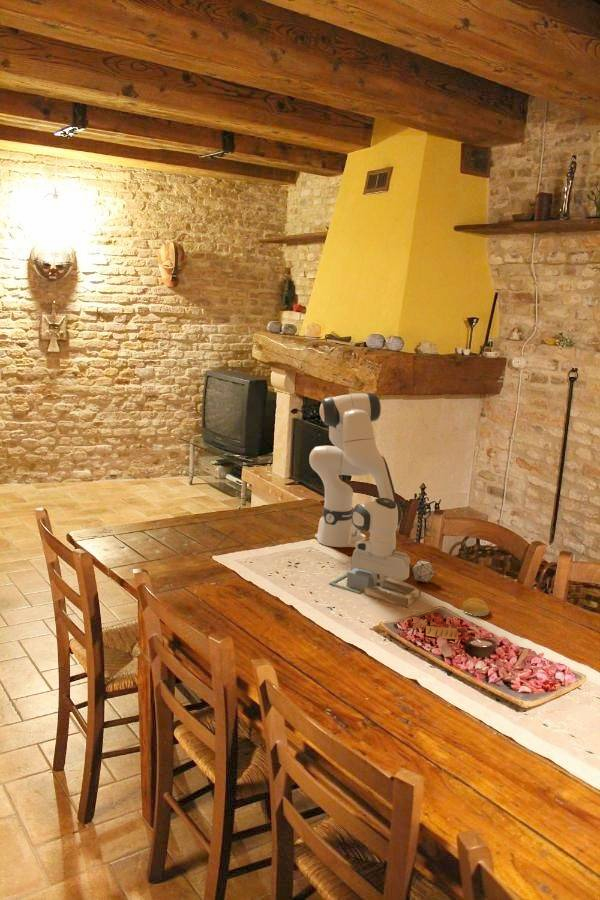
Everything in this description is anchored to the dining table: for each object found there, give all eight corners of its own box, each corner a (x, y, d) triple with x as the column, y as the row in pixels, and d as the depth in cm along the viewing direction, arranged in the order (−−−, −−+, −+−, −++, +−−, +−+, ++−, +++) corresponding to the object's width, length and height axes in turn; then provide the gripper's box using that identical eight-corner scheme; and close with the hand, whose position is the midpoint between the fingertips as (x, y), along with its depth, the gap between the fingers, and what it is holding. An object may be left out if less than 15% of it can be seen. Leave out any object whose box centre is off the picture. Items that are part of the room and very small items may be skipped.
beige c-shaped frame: (380, 584, 254) (380, 577, 253) (420, 596, 246) (421, 589, 246) (364, 594, 244) (365, 587, 244) (405, 606, 237) (406, 599, 236)
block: (354, 580, 256) (356, 567, 255) (375, 586, 252) (376, 573, 251) (346, 585, 251) (347, 572, 250) (367, 591, 247) (368, 577, 246)
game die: (425, 591, 261) (444, 570, 260) (420, 590, 253) (439, 569, 252) (407, 573, 265) (425, 553, 264) (401, 572, 257) (420, 551, 256)
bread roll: (463, 616, 233) (464, 604, 232) (462, 605, 242) (463, 593, 241) (489, 619, 232) (491, 607, 231) (487, 608, 240) (489, 597, 240)
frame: (347, 574, 262) (347, 573, 262) (377, 582, 255) (377, 581, 255) (328, 584, 251) (328, 583, 251) (359, 593, 245) (359, 592, 244)
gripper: (414, 551, 243) (410, 591, 245) (359, 538, 253) (356, 576, 256) (406, 556, 237) (402, 596, 240) (351, 542, 248) (347, 581, 251)
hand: (378, 586), depth 248 cm, fingers closed
